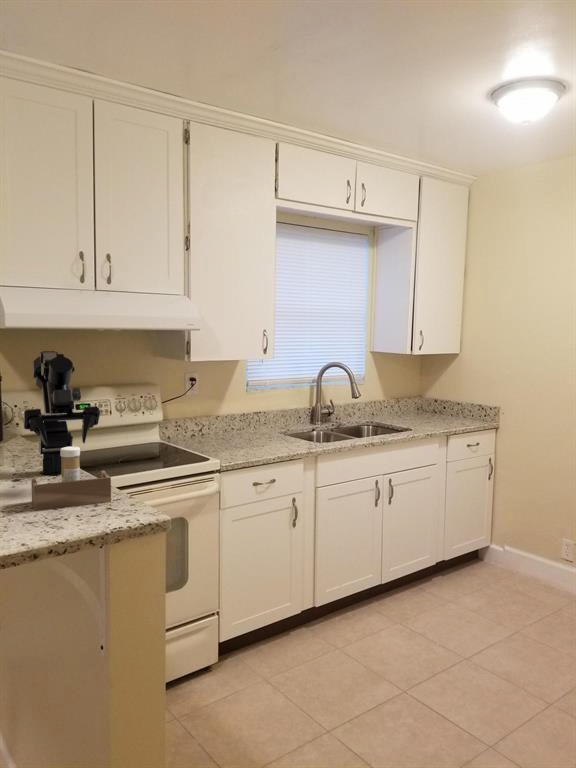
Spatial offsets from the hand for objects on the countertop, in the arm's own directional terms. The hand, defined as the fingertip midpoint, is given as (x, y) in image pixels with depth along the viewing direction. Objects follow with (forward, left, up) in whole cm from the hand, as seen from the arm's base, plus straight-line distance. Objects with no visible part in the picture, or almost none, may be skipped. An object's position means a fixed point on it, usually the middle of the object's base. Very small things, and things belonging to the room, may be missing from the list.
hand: (65, 443), depth 154 cm
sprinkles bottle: (+5, +6, -13) cm, 15 cm away
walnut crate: (+5, +6, -13) cm, 15 cm away
